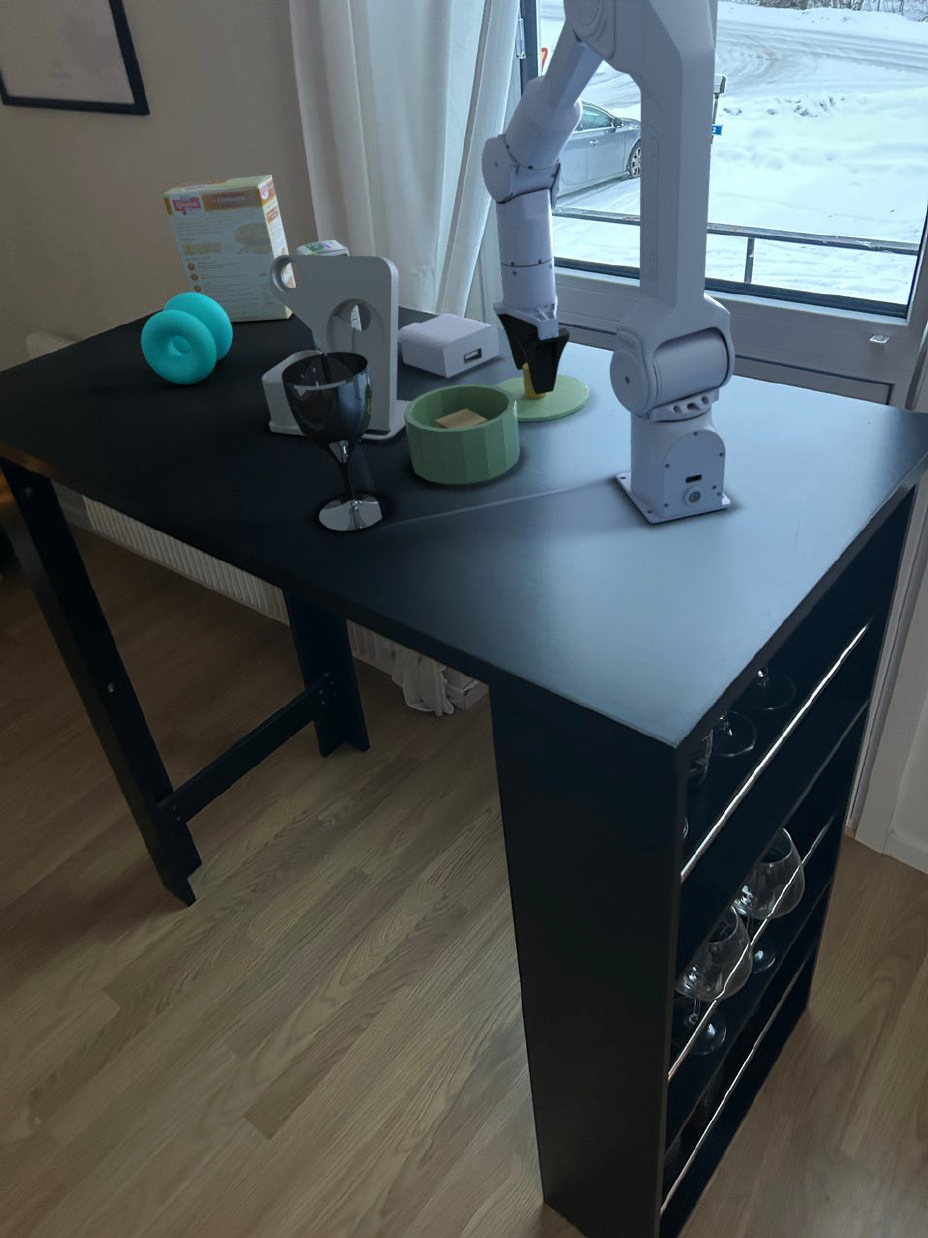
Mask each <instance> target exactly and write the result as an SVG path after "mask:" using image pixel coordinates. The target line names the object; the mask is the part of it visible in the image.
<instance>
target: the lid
mask: <svg viewBox="0 0 928 1238" xmlns="http://www.w3.org/2000/svg"><path fill="white" fill-rule="evenodd" d="M494 386H497V387H500V388H502V389H504V390H507V391H509V392H510V393H511V394H512V395H513V397H514V398H515V400H516V407H517V419H518V423H520V422H521V423H534V422H537V423H538V422H545V421H552V420H555V419H560V418H563V417H566V416H568V415H571V414H574V413H575V412H577V411H579V410H580V409H582V408H583V407H584V406H585V405H586V404H587V403H588V401H589V399H590V389H589V386H588V385H587V384H586V383H585V382H583V381H582V380H580V379H578V378H575V377H572V376H570V375H565V374H558V373H557V376H556V382H555V386H554V390H553V391H552V392H547V393H542V394H536V393H535V392H534V389H533V386H532V383H531V378H530V373H529V368H528V364H527V363H525V364H524V365H523V369H522V375H520V376H516V377H512V378H508V379H506V380H503V381H501V382H499V383H497V384H495V385H494Z"/></svg>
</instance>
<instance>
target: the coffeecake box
mask: <svg viewBox="0 0 928 1238" xmlns="http://www.w3.org/2000/svg"><path fill="white" fill-rule="evenodd" d="M275 188H276V187H275V184H274V180H273V175H272V174H266V175H255V176H254V175H253V176H246V177H245V176H244V177H236V178H227V179H225V178H224V179H215V180H205V181H195V182H186V183H179V184H177V185H175V186H173V187H172V188H170V189H168V190H166V191H165V192H163V193H162V197H163V201H164V204H165V207H166V208H165V209H166V212H167V215H168V219H169V222H170V225H171V229H172V232H173V237H174V240H175V243H176V246H177V250H178V254H179V257H180V260H181V265H182V267H183V271H184V276H185V278H186V282H187V285H188V289H189V292H193V293H199V294H203V295H205V296H207V297H209V298H211V299H213V300H214V301H215V302H217V303H218V304H219V305H220V306H221V307H222V308H223V310H224V311H225V313H226V314H227V316H228V318H229V320H230V323H243V322H258V321H275V320H288V319H289V318H290V317H291V316H292V315H293V314H294V313H293V312H292V311H291V310H290V309H289V308H288V307H286V306H285V305H284V304H283V303H282V302H281V301H280V300H279V299H278V298H277V297H276V296H275V295H274V294H273V292H272V290H271V287H270V267H271V264H272V262H273V261H274V260H275V258H277V257H278V256H280V255H290V252H289V248H288V244H287V238H286V234H285V230H284V225H283V221H282V215H281V211H280V208H279V207H280V206H279V202H278V198H277V193H276V189H275ZM284 279H285V282H286V284H287V285H288V286H289V287H291V288H295V287H296V286H297V284H296V280H295V276H294V272H293V266H292V263H289V264H288V265H287V266H286V268H285V270H284Z"/></svg>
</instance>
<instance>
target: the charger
mask: <svg viewBox="0 0 928 1238" xmlns="http://www.w3.org/2000/svg"><path fill="white" fill-rule="evenodd" d="M499 342H500V341H499V332H498V327H497V326H496V325H493V324H490V323H486V322H483V321H482V322H481V321H478V320H474V319H470V318H466V317H463V316H459V315H455V314H453V313H444V314H441V315H439V316H436V317H433V318H431V319H428V320H426V321H423V322H421V323H419V322H413V323H410V324H408V325H404V326H403V327H401V328H400V329H398V344H400V347H401V354H402V361H403V363H404V364H406V365H409V366H412V367H415V368H418V369H421V370H424V371H426V372H430V373H433V374H434V375H438V376H441V377H444V378H446V379H448V378H451V377H453V376H455V375H457V374H459V373H462V372H464V371H467V370H469V369H471V368H473V367H476V366H478V365H480V364H482V363H484V362H486V361H488V360H491V359H493V358H495V357H497V356H499V355H500V343H499Z"/></svg>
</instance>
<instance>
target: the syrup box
mask: <svg viewBox="0 0 928 1238" xmlns="http://www.w3.org/2000/svg"><path fill="white" fill-rule="evenodd" d="M296 255H329V256H350V253H349V248H348V247H345V246H344V245H343V244H341V243H340V242H339V241H337V240H335V239H331V240H320V241H315V242H311V243H306V244H303V245H301V246H298V247H296ZM358 306H359V305H357V306H356V307H355V308H354V309H353V311H352V315H351V319H352V323H353V325H354V326H355V328H357V329H358V330H361V331H363V329H362V326H361V325H362V324H361V319H360V312H359V307H358ZM311 334H312V339H313V343H314V348H315V351H319V352H321V342H320V339H319V337H318V336H317V334H316V333H314V332H313V331H312V330H311Z"/></svg>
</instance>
